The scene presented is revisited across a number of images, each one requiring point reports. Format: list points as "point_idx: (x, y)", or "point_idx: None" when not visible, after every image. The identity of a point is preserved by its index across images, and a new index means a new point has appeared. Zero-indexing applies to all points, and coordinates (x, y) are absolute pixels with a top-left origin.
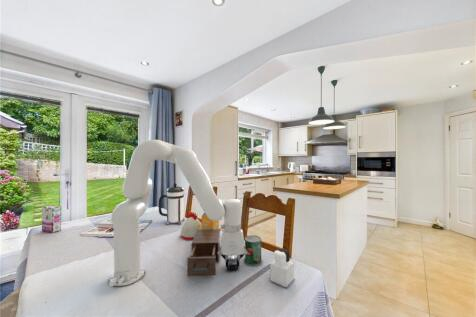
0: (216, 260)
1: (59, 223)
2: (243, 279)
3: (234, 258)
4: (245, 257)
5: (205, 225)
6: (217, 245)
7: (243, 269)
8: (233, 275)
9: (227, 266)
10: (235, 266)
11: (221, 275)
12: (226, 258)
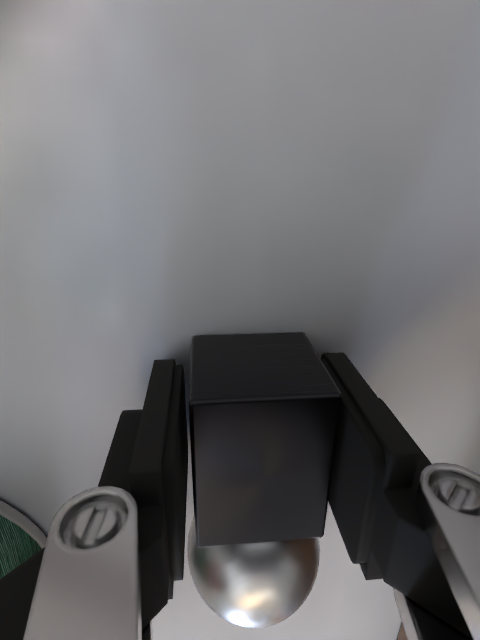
0: None
1: None
2: (31, 64)
3: (220, 580)
4: None
5: None
6: None
7: (65, 384)
8: (237, 218)
9: (359, 381)
10: (200, 376)
11: (440, 226)
12: (475, 522)
